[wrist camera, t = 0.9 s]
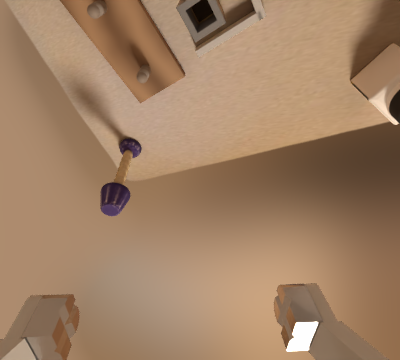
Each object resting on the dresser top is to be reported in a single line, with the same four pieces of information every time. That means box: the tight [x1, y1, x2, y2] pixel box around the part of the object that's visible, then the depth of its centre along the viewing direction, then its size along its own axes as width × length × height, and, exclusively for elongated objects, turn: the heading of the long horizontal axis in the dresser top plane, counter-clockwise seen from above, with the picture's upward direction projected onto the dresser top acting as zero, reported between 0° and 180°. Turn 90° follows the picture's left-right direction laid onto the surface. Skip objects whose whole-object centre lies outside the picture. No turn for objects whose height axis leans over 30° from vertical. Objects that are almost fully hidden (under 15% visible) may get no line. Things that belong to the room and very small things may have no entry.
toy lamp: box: [100, 139, 141, 216], centre depth 46 cm, size 5×5×17 cm
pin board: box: [60, 0, 185, 103], centre depth 36 cm, size 9×20×6 cm, turn 31°
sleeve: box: [176, 0, 226, 43], centre depth 34 cm, size 4×4×6 cm
